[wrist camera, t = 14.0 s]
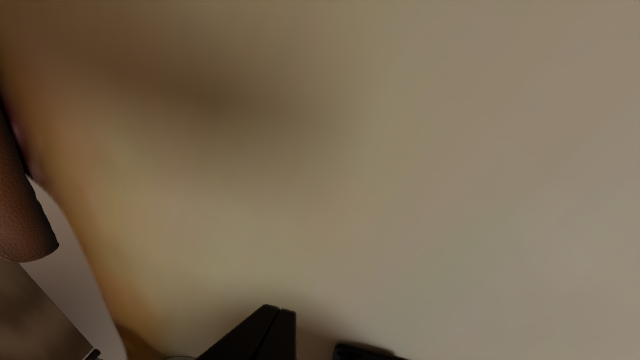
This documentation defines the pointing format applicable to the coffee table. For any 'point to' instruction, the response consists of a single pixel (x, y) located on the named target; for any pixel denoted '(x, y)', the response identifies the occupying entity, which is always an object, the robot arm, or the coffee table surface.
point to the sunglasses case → (20, 209)
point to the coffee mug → (180, 358)
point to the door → (34, 321)
